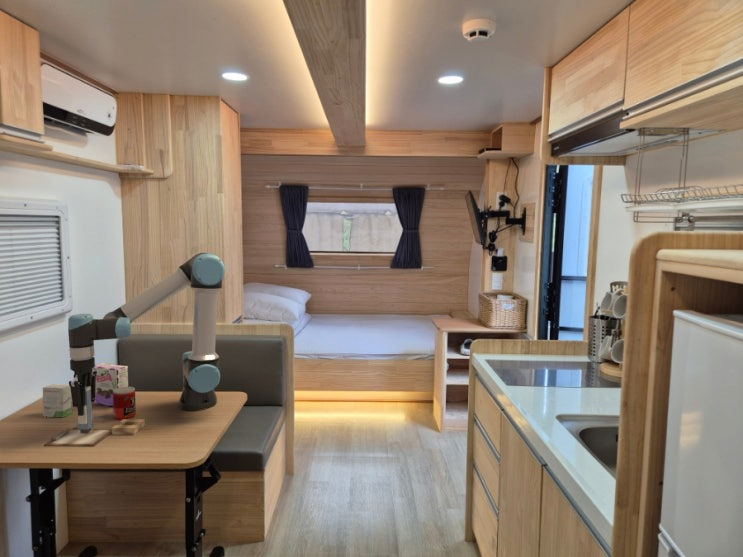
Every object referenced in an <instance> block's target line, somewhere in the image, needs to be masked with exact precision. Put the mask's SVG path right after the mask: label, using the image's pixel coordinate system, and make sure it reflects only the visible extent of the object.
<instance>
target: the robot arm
mask: <svg viewBox="0 0 743 557" xmlns="http://www.w3.org/2000/svg"><path fill="white" fill-rule="evenodd" d="M225 270H226V268H225V264H224V263H223V260H222V259H221V258H220V257H219V256H217V255H215V254H213V253H208V252H200V253H197V254H194V255H193V256H192V257H191V258H189V259H188V260H187V261H186V262H184V263H182V264H181V265H179V266H178V267H177V270H175V271H174V272H173V273H172V274H170V275H168V276H167V277H165V278H163V279H161V281H159V282H157V283H155V284H154V285H153V286H151V287H149V288H148V289H146V290H144V291H143V292H141V293H140V294H137V296H135V297H134V298H132V299H129V300H128V301H127V302H125V303H124V304H122V305H121V306H120V307H118V308H116V309H115V310H113V311H109V312H107V313H106V314H104V316H103V318H97V319H96V318H94V317H93V316H94V315H92V313H78V314H76V313H75V314H73V315H70V316H69V317H68V323H67V326H68V328H67V330H68V331H67V332H68V347H69V350H68V351H69V358H70V359H69V369H70V371H73V379H72V380H69V381H68V385H69V386H70V388H71V405H72V407H77V420H78V424H87V407H86V406H85V387H86V386H91V412H92V413H93V409H92V407H93V406H92V403H93V402H94V401H95V399H93V398H95V392H96V375H97V371H92V368H94V367H95V365H96V362H95V361H96V359H95V355H96V353H95V341H103V340H116V339H118V340H122V339H126V338H130V337H131V336H132V333H131V332H132V331H131V330H132V329H131V324H132V323H133V322H135V321H136V320H137V319H140V318H141V317H143V316H144V315H146V314H147V313H148V312H150V311H152V310H153V309H155V308H156V307H158V306H160V305H161V304H163V303H165V302H166V301H167V300H169V299H170V298H173V297H174V296H175V295H177V294H178V293H180V292H181V291H184V290H185V289H186V288H187V287H190V289H191V290H192V291H193V293H194V295H193V296H194V297H193V301H194V302H193V323H192V324H193V326H192V348H191V350H190V351H186V352H183V354H182V359H181V360H182V381H183V382H182V385H183V388H182V392H181V394H180V398H179V400H178V403H179V404H178V406H179V408H180V409H181V410H184V411H202V410H205V408H207V409H209V407H210V408H212V407H215V406H216V405H217V404H216V403H218V396H217V394H216V391H215V389H216V387H217V386H218V385H219V383H220V381H221V372H220V369H219V365H220V364H219V362H220V360H219V359H220V355H218V353H217V352H216V339H217V338H216V337H217V336H216V335H217V318H218V316H217V314H218V313H217V312H218V296H219V295H218V293H219V292H220V291H221V290H222V288H223V279H224V277H225V273H226V271H225ZM215 404H216V405H215ZM201 409H202V410H201ZM78 424H77V425H78Z"/></svg>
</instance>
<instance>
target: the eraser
mask: <svg viewBox="0 0 743 557" xmlns="http://www.w3.org/2000/svg"><path fill="white" fill-rule="evenodd" d="M91 403H92V402H91V386H86V387H85V406H86V407H87V424H77V425H78V426H79V429H80V433H89V432H90V431H91V429H92V428H93V427H92V424H93V411H92V412H91Z"/></svg>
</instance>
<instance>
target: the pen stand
mask: <svg viewBox="0 0 743 557" xmlns="http://www.w3.org/2000/svg"><path fill="white" fill-rule="evenodd" d="M145 422H146V421H145V419H143V418H142V419H139V418H137V419H134V418H130V419H123V420H119V422H117V423H116V424H115V425H114V426H112V427H111V430H112V433H111V435H116V436H117V435H118V436H119V435H121V436H125V435H127V436H134V435H136V434H137V433H139V432H140V431H141V430H142V429H143V428H144V427H146V426H145V425H146V424H145Z"/></svg>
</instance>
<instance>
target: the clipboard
mask: <svg viewBox="0 0 743 557" xmlns="http://www.w3.org/2000/svg"><path fill="white" fill-rule="evenodd" d="M109 435H112V429H104V428H103V429H102V428H101V429H100V428H99V429H97V428H96V429H94V428H93V429H92V428H91V431H90V432H89V433H80V429H73V428H72V429H71V428H68V429H66V430H62V431H60V432H58V433H57V434H55V435H53V437H51V439H50V440H49V441H47V442H46V443H44V444H43V447H95V446H97V445H98V444H99V443H100V442H102V441H103V440H104V439H105V438H107V437H109Z"/></svg>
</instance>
